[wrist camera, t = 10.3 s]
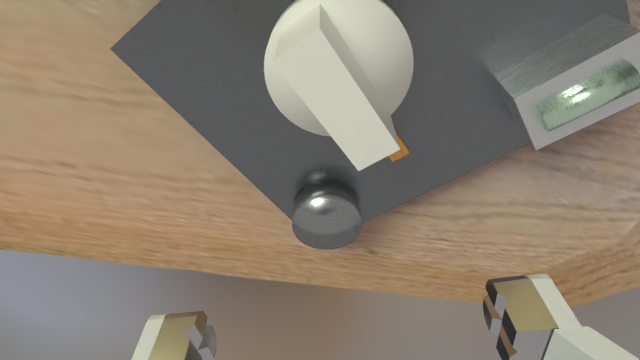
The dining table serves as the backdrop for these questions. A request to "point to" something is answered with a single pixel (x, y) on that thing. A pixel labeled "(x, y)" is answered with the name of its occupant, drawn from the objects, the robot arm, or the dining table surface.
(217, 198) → the dining table surface
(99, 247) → the dining table surface
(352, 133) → the knob
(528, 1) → the levelling base
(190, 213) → the dining table surface
